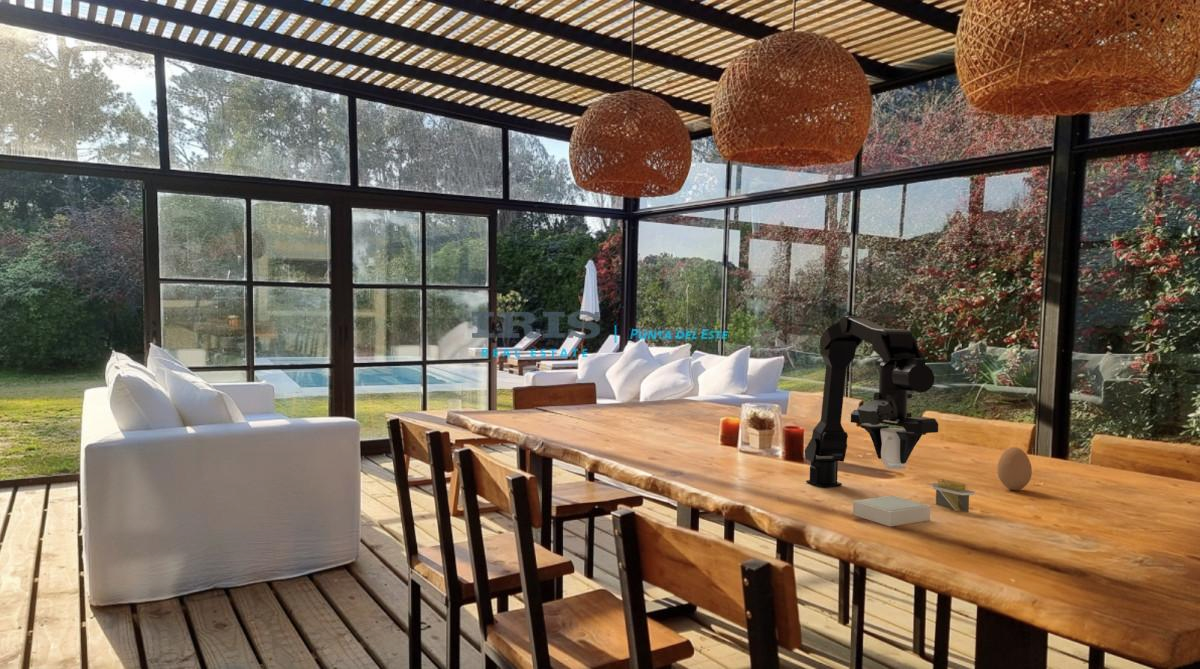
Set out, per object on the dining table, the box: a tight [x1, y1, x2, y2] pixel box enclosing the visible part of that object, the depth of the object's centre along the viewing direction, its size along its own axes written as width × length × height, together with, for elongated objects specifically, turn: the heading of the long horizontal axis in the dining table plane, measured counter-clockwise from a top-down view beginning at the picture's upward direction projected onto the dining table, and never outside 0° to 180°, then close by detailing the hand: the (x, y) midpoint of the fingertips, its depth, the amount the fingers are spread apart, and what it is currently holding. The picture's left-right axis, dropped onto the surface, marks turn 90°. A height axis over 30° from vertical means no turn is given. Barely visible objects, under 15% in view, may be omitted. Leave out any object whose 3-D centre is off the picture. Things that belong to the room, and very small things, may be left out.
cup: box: [880, 427, 908, 471], centre depth 158 cm, size 7×10×8 cm
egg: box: [996, 446, 1033, 491], centre depth 187 cm, size 8×8×11 cm
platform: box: [931, 478, 976, 513], centre depth 167 cm, size 12×18×7 cm, turn 31°
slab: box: [852, 495, 931, 527], centre depth 159 cm, size 12×10×3 cm
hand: (891, 461), depth 158 cm, fingers closed on cup, 6 cm apart
